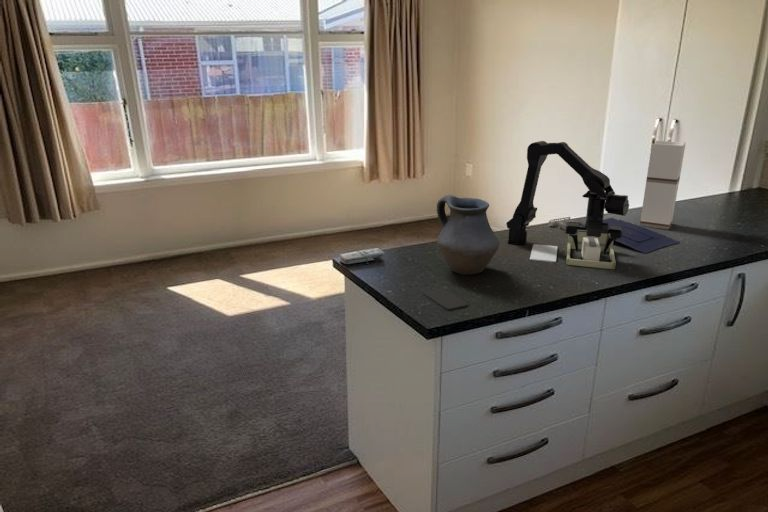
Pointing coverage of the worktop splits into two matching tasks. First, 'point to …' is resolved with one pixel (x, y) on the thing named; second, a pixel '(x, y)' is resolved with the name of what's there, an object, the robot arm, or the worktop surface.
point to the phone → (445, 299)
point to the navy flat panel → (639, 236)
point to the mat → (544, 253)
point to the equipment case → (587, 262)
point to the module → (591, 249)
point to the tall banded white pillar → (662, 184)
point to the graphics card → (563, 222)
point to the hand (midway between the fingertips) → (590, 253)
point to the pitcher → (466, 234)
